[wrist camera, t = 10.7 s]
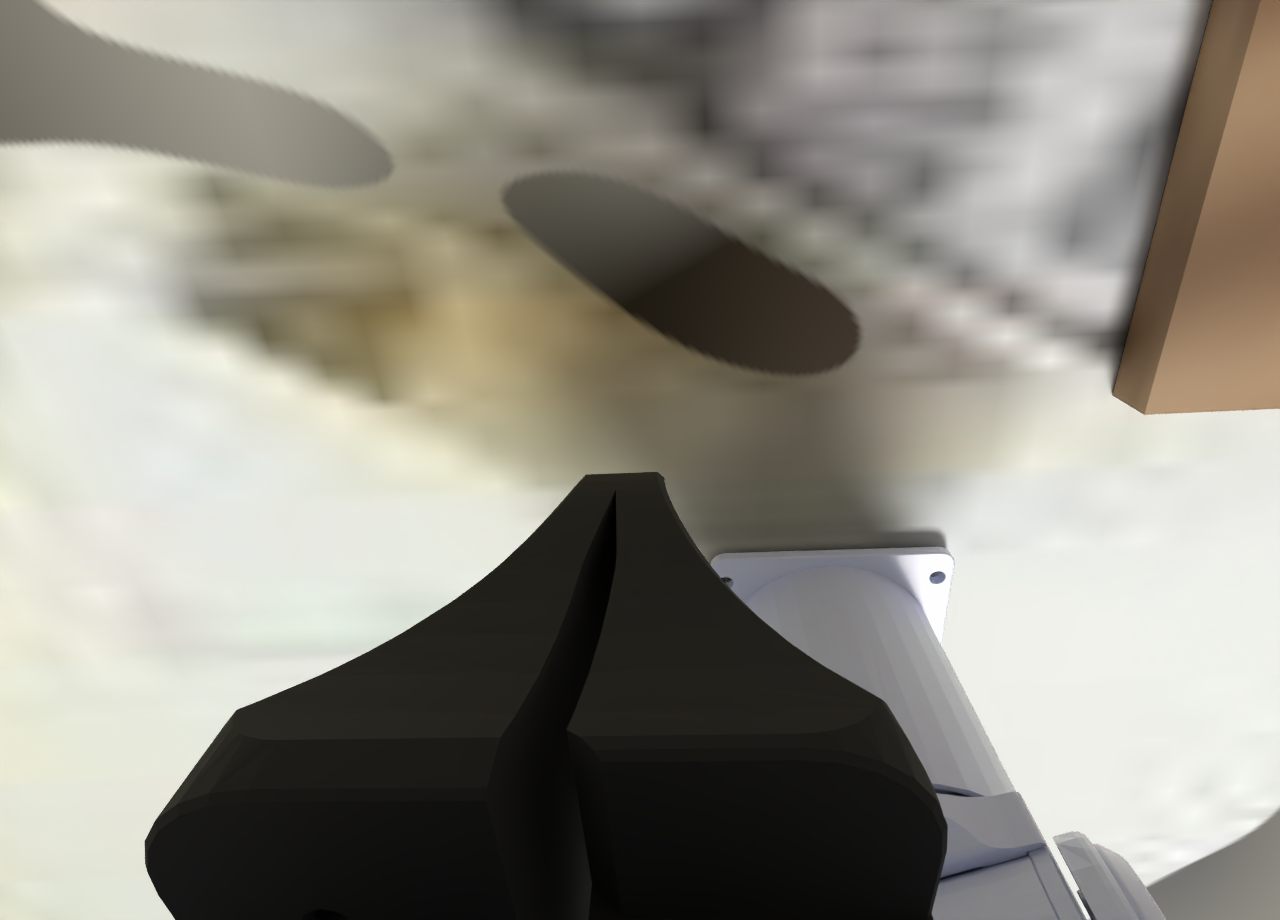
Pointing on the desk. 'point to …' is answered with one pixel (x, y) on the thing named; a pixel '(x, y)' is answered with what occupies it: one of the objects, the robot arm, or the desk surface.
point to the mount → (1216, 235)
